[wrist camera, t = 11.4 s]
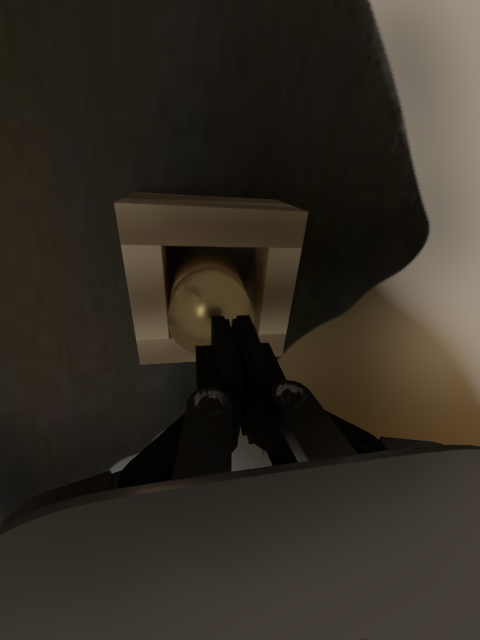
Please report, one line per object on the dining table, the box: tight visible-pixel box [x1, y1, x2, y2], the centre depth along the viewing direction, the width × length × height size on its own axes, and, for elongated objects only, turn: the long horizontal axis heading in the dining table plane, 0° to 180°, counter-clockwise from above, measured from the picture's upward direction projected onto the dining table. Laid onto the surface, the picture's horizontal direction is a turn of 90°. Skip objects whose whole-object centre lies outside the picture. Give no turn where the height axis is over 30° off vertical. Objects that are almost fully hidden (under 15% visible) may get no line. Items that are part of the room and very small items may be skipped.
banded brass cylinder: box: [167, 246, 254, 354], centre depth 17 cm, size 4×4×8 cm
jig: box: [114, 192, 308, 365], centre depth 18 cm, size 10×10×6 cm
